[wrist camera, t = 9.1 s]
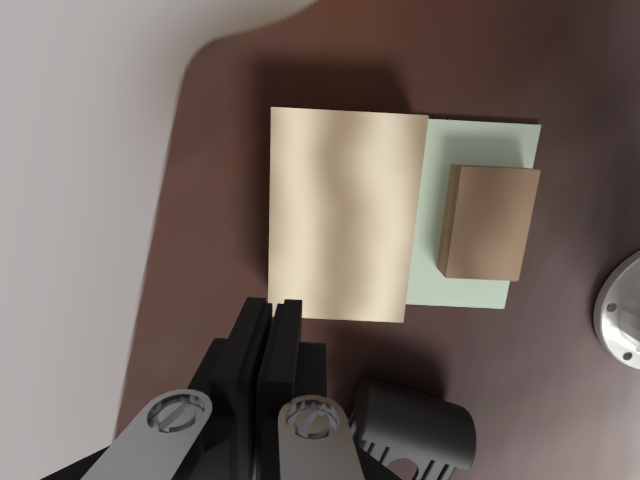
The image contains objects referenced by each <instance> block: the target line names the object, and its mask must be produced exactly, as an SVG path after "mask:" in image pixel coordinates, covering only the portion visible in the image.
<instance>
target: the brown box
mask: <svg viewBox="0 0 640 480" xmlns="http://www.w3.org/2000/svg"><path fill="white" fill-rule="evenodd" d="M540 172H541V170H537V169H530V168H521V167H499V166H478V165H456V164H451V168H450V175H449V182H448V189H447V197H446V204H445V211H444V218H443V226H442V233H441V240H440V247H439V255H438V262H437V269H438V270H439V271H440V272H441V273H442V275H443V276H444V277H445V278H457V279H479V280H502V281H518V280H519V275H520V270H521V266H522V261H523V256H524V251H525V246H526V241H527V236H528V231H529V226H530V221H531V216H532V211H533V206H534V201H535V196H536V191H537V187H538V182H539V177H540Z"/></svg>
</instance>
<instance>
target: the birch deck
mask: <svg viewBox="0 0 640 480" xmlns="http://www.w3.org/2000/svg"><path fill="white" fill-rule="evenodd" d="M428 118H429V115H413V114H394V113H376V112H357V111H339V110H320V109H302V108H283V107H271V142H270V209H269V275H268V303H272V305H273V314H272V316H274V315H275V311H276V307H277V304H278V303H280V304H284V300H285V299H295V300H302V318H317V319H338V320H359V321H380V322H401V323H403V321H404V312H405V304H406V296H407V288H408V280H409V272H410V264H411V256H412V248H413V240H414V232H415V223H416V215H417V207H418V199H419V191H420V183H421V175H422V167H423V159H424V151H425V142H426V134H427V126H428Z"/></svg>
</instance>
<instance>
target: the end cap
mask: <svg viewBox="0 0 640 480" xmlns="http://www.w3.org/2000/svg"><path fill="white" fill-rule="evenodd" d="M345 415H346V417H347V421H348V424H349V428H350V431H351V434H353V436H352V438H353V441H354V443H356V444H357V445H358V446H359V447H361V448H362V449H363V450H365V451H366V452H367V453H368V454H370V455H371V456H372V457H374V458H375V459H376V460H377V461H379V462H380V463H381V464H383V465H384V466H385V467H387V465H388V464H389V463H390V462H391V461H393V460H395V459H399V458H406V459H410V460H412V461H414V462H415V463H416V464H417V466H418V467H417V471H416V473H415V475H414V477H413V479H412V480H450V478H451V476H452V474H453V472H454V471H455V469H456V467H458V468H462V469H465V470H470V468H471V466H472V464H473V461H474V458H475V452H476V430H475V425H474V422H473V419H472V417H471V415H470V413H469V412H468V411H467V410H466V409H465V408H464V407H462V406H459V405H456V404H453V403H450V402H446V401H443V400H440V399H437V398H433V397H430V396H427V395H424V394H420V393H417V392H414V391H411V390H407V389H404V388H401V387H398V386H394V385H391V384H388V383H385V382H381V381H378V380H375V379H372V378H368V377H362V378H361V379H360V380H359V381H358V382H357V383H356V385H355V387H354V389H353V396H352V398H351V401H350V403H349V405H348V407H347V410H346V412H345Z"/></svg>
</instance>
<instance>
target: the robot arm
mask: <svg viewBox="0 0 640 480" xmlns="http://www.w3.org/2000/svg"><path fill="white" fill-rule="evenodd" d="M272 314H273V305H272V303H266V298H253V297H247V299H246V301H245V303H244V306H243V308H242V310H241V312H240V314H239V316H238V318H237V321H236V323H235V325H234V327H233V329H232V331H231V333H230V336H229V338H228V339H225V338H215V339H214V340H213V342H212V343H211V345H210V347H209V349H208V351H207V353H206V355H205V356H204V358H203V360H202V362H201V364H200V366H199V368H198V369H197V371H196V373H195V375H194V377H193V379H192V381H191V383H190V384H189V386H188V388H187V389H181V390H175V391H171V392H168V393H165V394H162V395H160V396H158V397H157V398H155V399H153V400H152V401H151V402H149V403H148V404H147V405H146V406H145V407H144V408H143V409H142V410H141V411H140V413H139V414H138V415H137V416H136V417H135V418H134V419H133V421H132V422H131V423H130V424H129V425H128V426H127V427H126V428H125V430H124V431H123V432H122V433H121V434H120V435H119V436H118V438H117V439H116V440H115V441H114V442H113V443H112V444H111V445H110V446H108V447H106V448H104V449H102V450H100V451H98V452H96V453H94V454H92V455H90V456H88V457H86V458H83V459H81V460H79V461H77V462H75V463H73V464H71V465H69V466H67V467H65V468H63V469H61V470H59V471H57V472H55V473H53V474H51V475H49V476H47V477H45V478H43V479H41V480H252V479H253V474H254V469H255V464H256V480H402V479H401V478H399V477H398V476H397V475H395V474H394V473H393V472H392V471H390V470H389V469H388V468H386V467H385V466H384V465H383V464H381V463H380V462H379V461H377V460H376V459H375V458H374V457H372V456H371V455H370V454H368V453H367V452H366V451H365V450H363V449H362V448H361V447H359V446H358V445H357V444H356V443H354V441H353V438H352V434H351V431H350V428H349V424H348V421H347V417H346V415H345V413H344V411H343V409H342V408H341V407H340V406H339V405H338V404H337V403H336V402H334V401H332V400H331V399H329V398H327V384H326V344H325V343H309V342H301V327H302V300H295V299H285V300H284V304H280V303H278V304H277V307H276V311H275V315H274V318H273V322H272ZM593 320H594V329H595V332H596V335H597V338H598V340H599V341H600V343H601V345H602V346H603V348H604V349H605V350H606V351H607V352H609V353H610V354H611V355H612V356H613V357H614V358H616V359H617V360H619V361H620V362H621V363H623V364H625V365H628V366H630V367H632V368H635V369H639V370H640V251H638V252H636V253H635V254H633V255H632V256H630V257H629V258H627V259H626V260H624V261H623V262H622V263H621V264H620V265H619V266H618V267H617V268H616V269H615V270H614V271H613V272H612V273H611V275H610V276H609V277H608V278H607V280H606V281H605V283H604V284H603V286H602V288H601V290H600V292H599V294H598V297H597V300H596V303H595V307H594V315H593Z"/></svg>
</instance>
